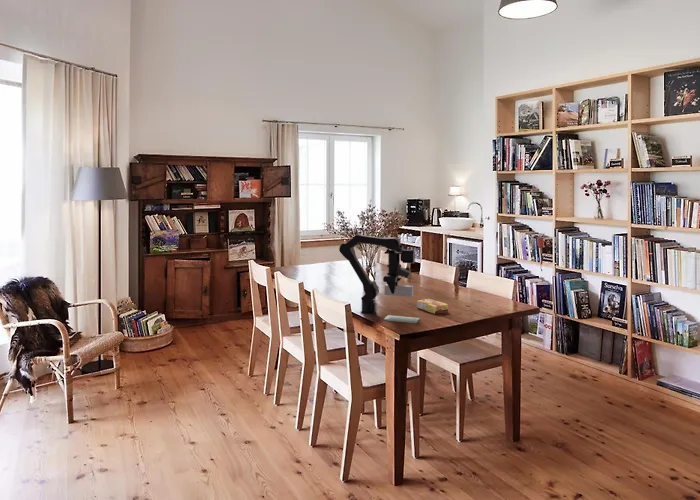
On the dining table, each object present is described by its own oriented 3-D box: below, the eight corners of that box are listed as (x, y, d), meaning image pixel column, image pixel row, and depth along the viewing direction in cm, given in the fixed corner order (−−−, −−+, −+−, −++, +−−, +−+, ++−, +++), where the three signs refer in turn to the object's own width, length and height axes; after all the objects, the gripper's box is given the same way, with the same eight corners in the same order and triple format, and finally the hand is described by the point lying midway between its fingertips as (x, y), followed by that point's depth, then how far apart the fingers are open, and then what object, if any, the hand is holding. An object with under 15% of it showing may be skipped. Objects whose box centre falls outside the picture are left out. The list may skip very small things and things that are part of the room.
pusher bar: (384, 294, 274) (384, 285, 273) (386, 293, 277) (386, 284, 276) (411, 296, 270) (412, 286, 269) (413, 295, 273) (413, 285, 272)
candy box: (448, 312, 279) (429, 306, 292) (448, 304, 279) (429, 298, 292) (434, 314, 275) (416, 307, 288) (434, 306, 274) (416, 300, 287)
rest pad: (384, 320, 263) (384, 318, 263) (388, 316, 270) (388, 315, 270) (416, 323, 258) (416, 321, 258) (419, 319, 265) (419, 318, 264)
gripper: (405, 266, 261) (404, 297, 263) (413, 260, 278) (413, 290, 280) (383, 265, 264) (382, 296, 266) (392, 259, 282) (392, 288, 284)
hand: (393, 292), depth 274 cm, fingers closed on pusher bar, 3 cm apart
